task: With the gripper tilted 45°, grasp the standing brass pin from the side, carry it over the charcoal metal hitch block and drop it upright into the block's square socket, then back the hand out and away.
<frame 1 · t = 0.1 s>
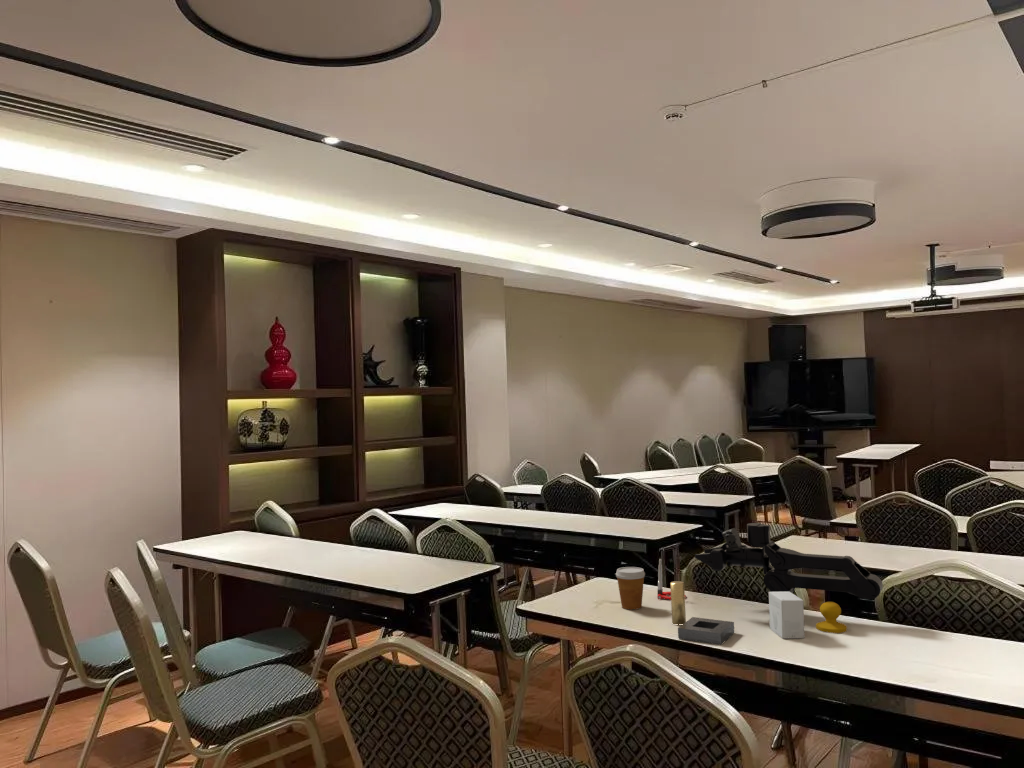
hand: (699, 553, 243), 17 cm above the table, tool horizontal, fingers open, 9 cm apart
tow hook: (671, 598, 255), on the table
disposable coffee cup: (631, 607, 244), on the table
skincare box: (787, 633, 212), on the table
brass pin: (679, 623, 224), on the table
hitch block: (706, 635, 212), on the table
doorknob: (831, 629, 214), on the table
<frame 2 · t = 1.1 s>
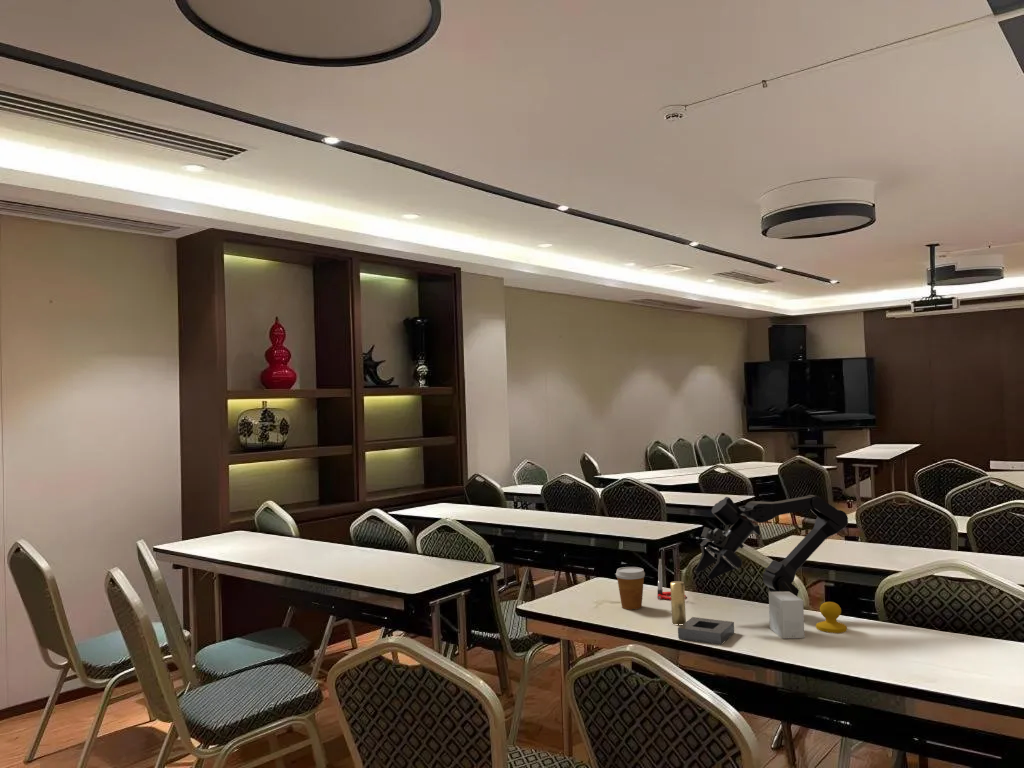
hand: (702, 574, 226), 14 cm above the table, tool tilted 45°, fingers open, 9 cm apart
nothing on the table moved.
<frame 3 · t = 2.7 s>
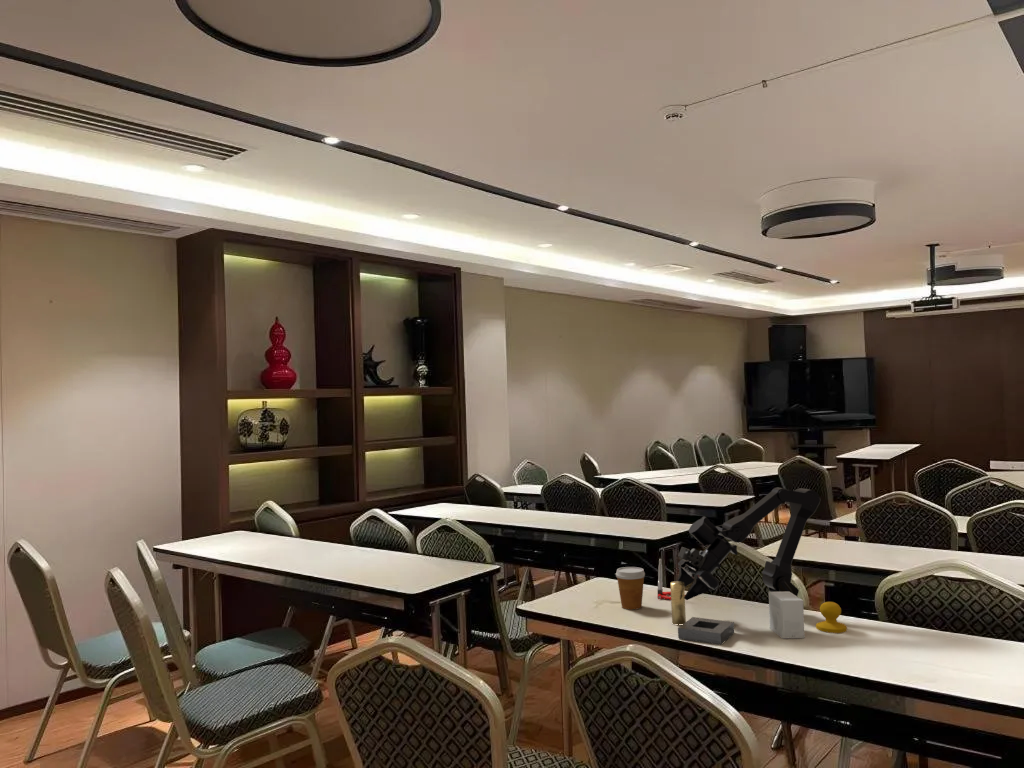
hand: (679, 595, 225), 8 cm above the table, tool tilted 45°, fingers open, 9 cm apart
nothing on the table moved.
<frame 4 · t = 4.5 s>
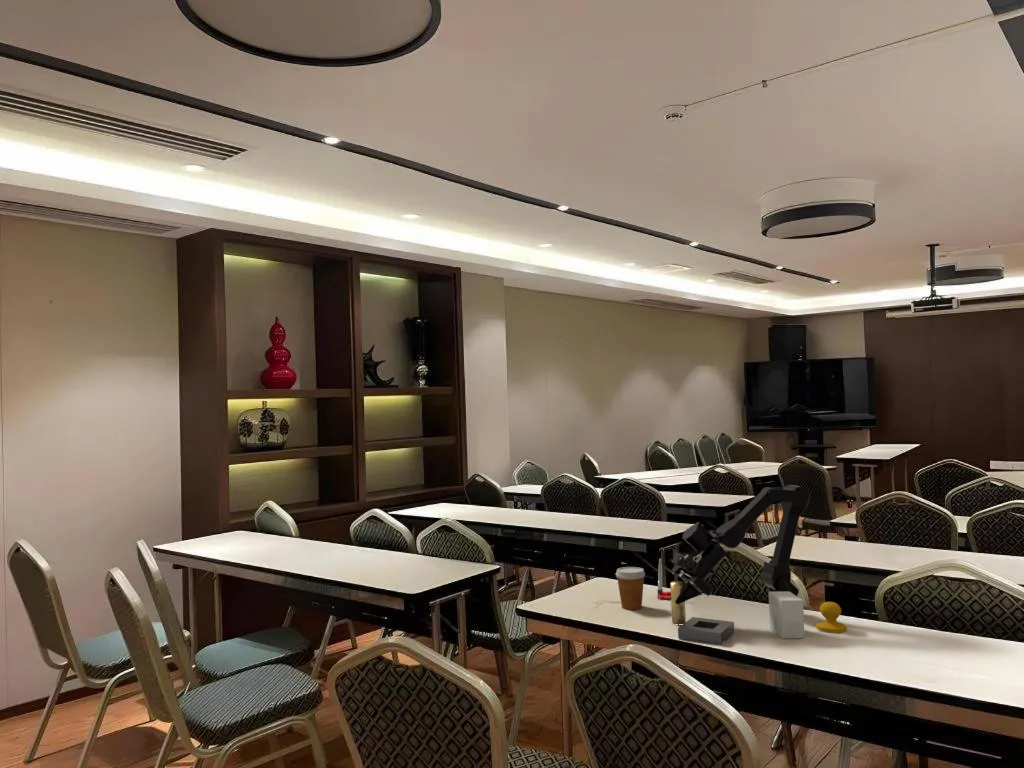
hand: (673, 601, 224), 7 cm above the table, tool tilted 45°, fingers closed on brass pin, 4 cm apart
brass pin: (679, 623, 224), on the table, touching gripper
everything else where it was.
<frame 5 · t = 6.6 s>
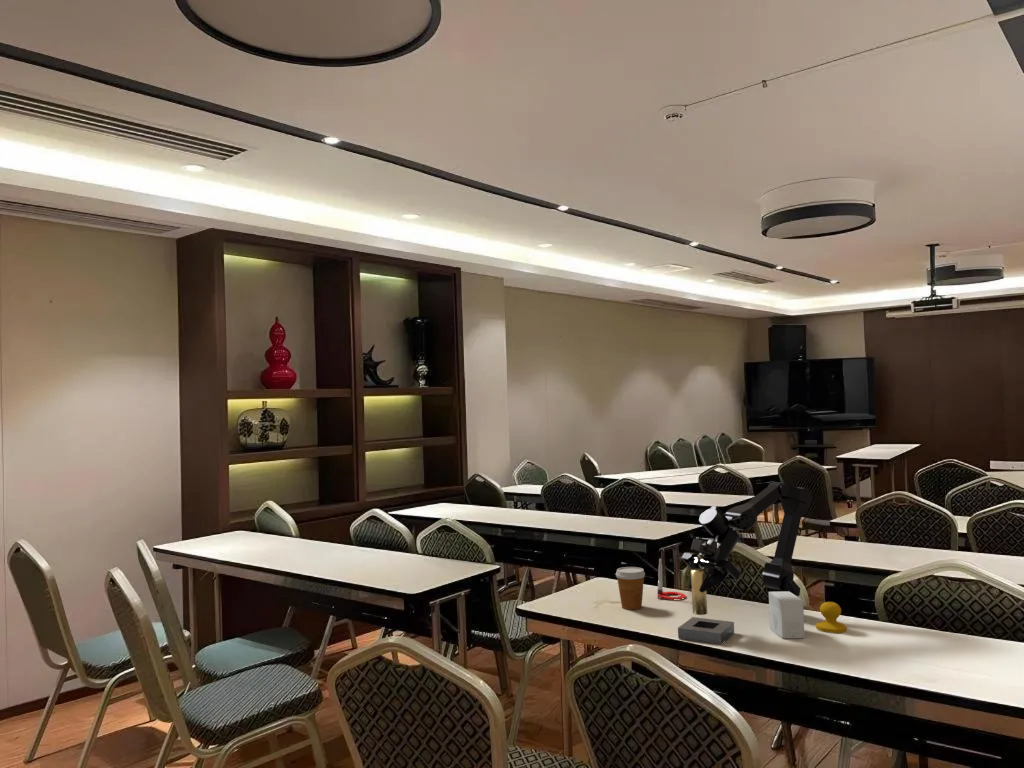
hand: (695, 590, 213), 12 cm above the table, tool tilted 45°, fingers closed on brass pin, 4 cm apart
brass pin: (700, 612, 214), point 6 cm above the table, touching gripper
everything else where it was.
when the fingers open (8 cm above the table, at t = 8.6 s): brass pin drops 1 cm, resting in hitch block.
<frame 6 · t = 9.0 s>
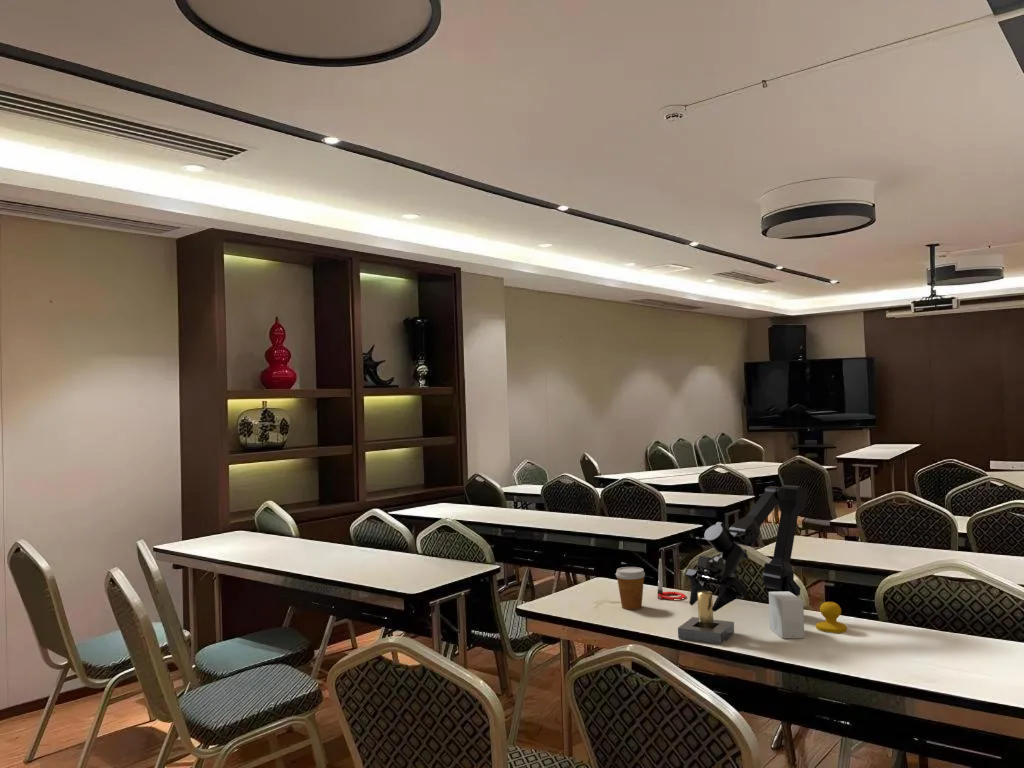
hand: (701, 607, 211), 8 cm above the table, tool tilted 45°, fingers open, 8 cm apart
brass pin: (706, 635, 212), resting in hitch block
everything else where it was.
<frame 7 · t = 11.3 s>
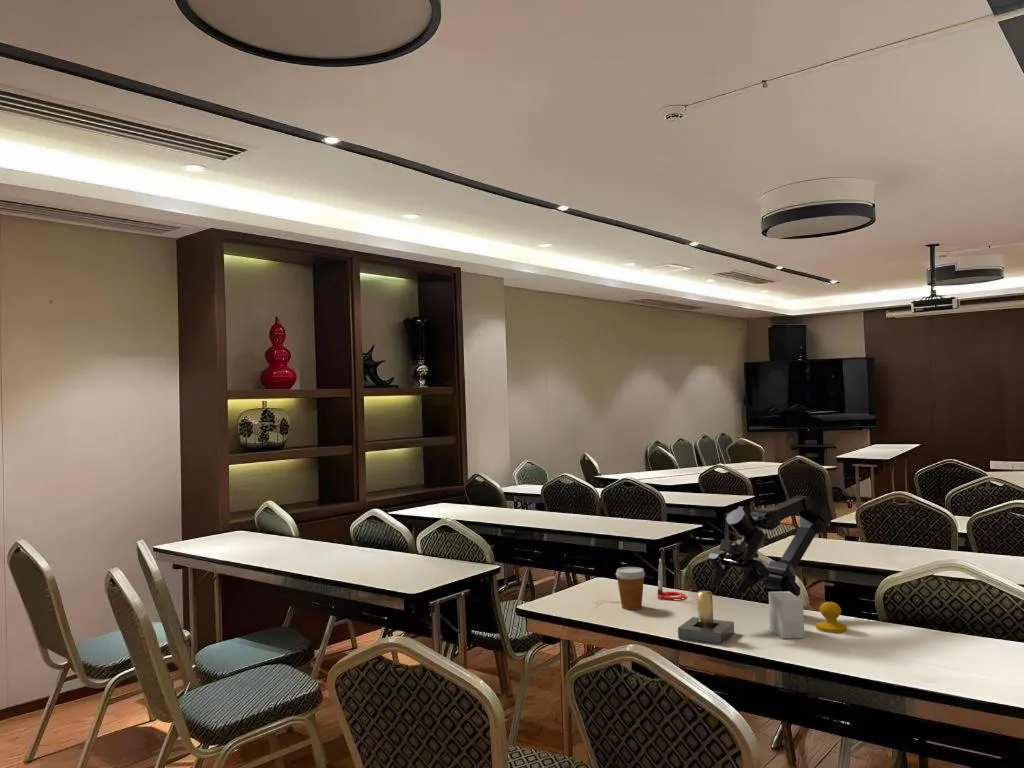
hand: (724, 589, 216), 12 cm above the table, tool tilted 45°, fingers open, 9 cm apart
nothing on the table moved.
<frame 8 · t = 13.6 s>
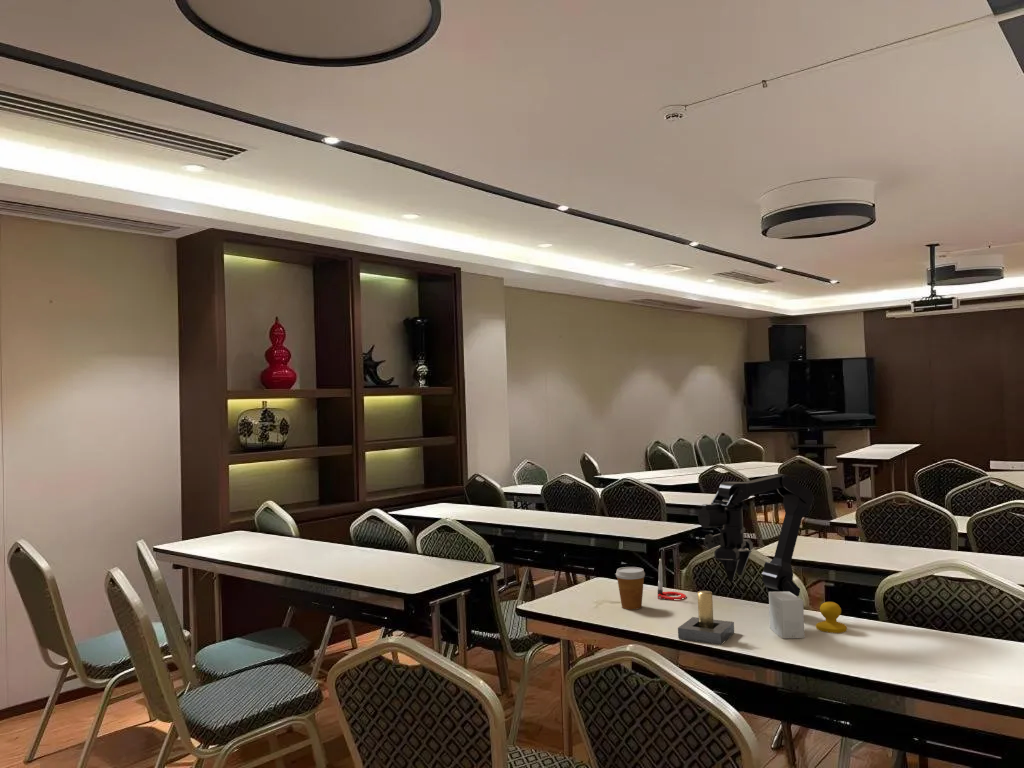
hand: (735, 578, 223), 13 cm above the table, tool pointing down, fingers open, 9 cm apart
nothing on the table moved.
at the end: brass pin 0.1 cm off-centre on the hitch block, point 0.0 cm above the hitch block's base; brass pin tilted 0°; the gripper is holding nothing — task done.
